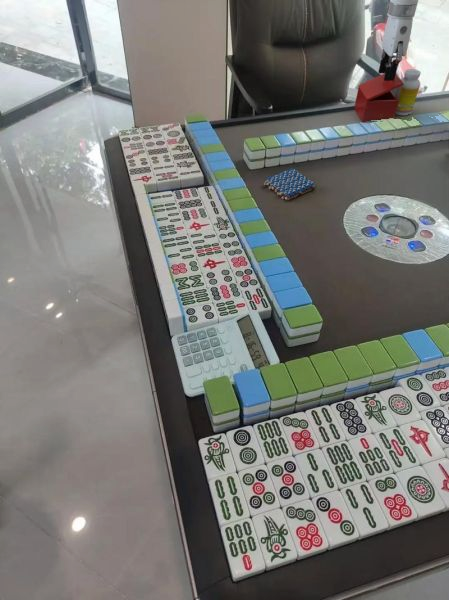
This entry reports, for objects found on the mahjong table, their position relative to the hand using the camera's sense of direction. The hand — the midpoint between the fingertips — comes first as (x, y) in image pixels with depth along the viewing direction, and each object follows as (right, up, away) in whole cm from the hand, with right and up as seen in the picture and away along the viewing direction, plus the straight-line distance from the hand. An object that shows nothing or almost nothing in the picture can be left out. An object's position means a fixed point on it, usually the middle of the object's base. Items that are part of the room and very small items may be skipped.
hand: (386, 75), depth 136 cm
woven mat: (-33, -40, -19) cm, 55 cm away
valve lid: (-1, -2, +2) cm, 3 cm away
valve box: (-1, -8, +9) cm, 12 cm away
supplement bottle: (+9, -7, +10) cm, 15 cm away
